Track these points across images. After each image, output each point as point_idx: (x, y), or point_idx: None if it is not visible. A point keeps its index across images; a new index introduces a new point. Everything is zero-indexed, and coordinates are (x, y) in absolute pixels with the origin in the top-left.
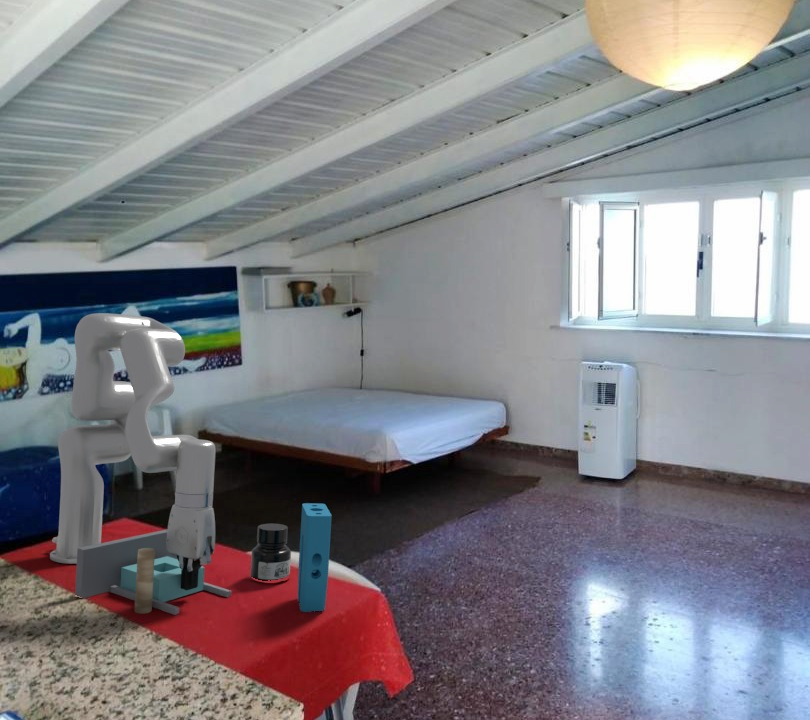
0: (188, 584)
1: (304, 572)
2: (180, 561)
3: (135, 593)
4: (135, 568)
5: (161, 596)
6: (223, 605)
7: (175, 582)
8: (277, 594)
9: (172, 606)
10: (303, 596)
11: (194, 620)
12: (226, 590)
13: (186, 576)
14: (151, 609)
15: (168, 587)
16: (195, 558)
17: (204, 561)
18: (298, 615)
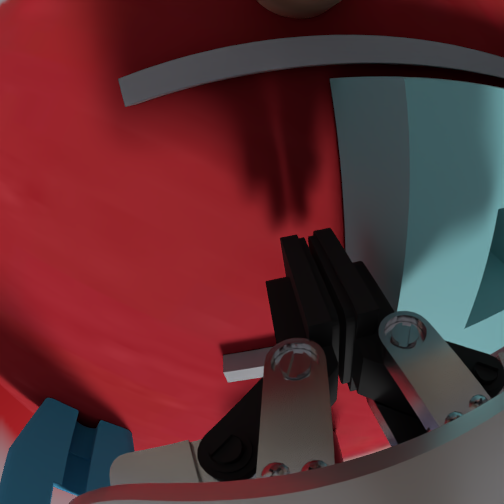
0: (287, 271)
1: (8, 470)
2: (437, 359)
3: (468, 61)
4: None
5: (346, 100)
6: (147, 312)
7: (380, 225)
8: (176, 426)
9: (161, 78)
10: (29, 424)
11: (32, 140)
12: (239, 374)
13: (300, 294)
14: (264, 5)
15: (371, 162)
16: (88, 494)
17: (133, 477)
18: (28, 382)
